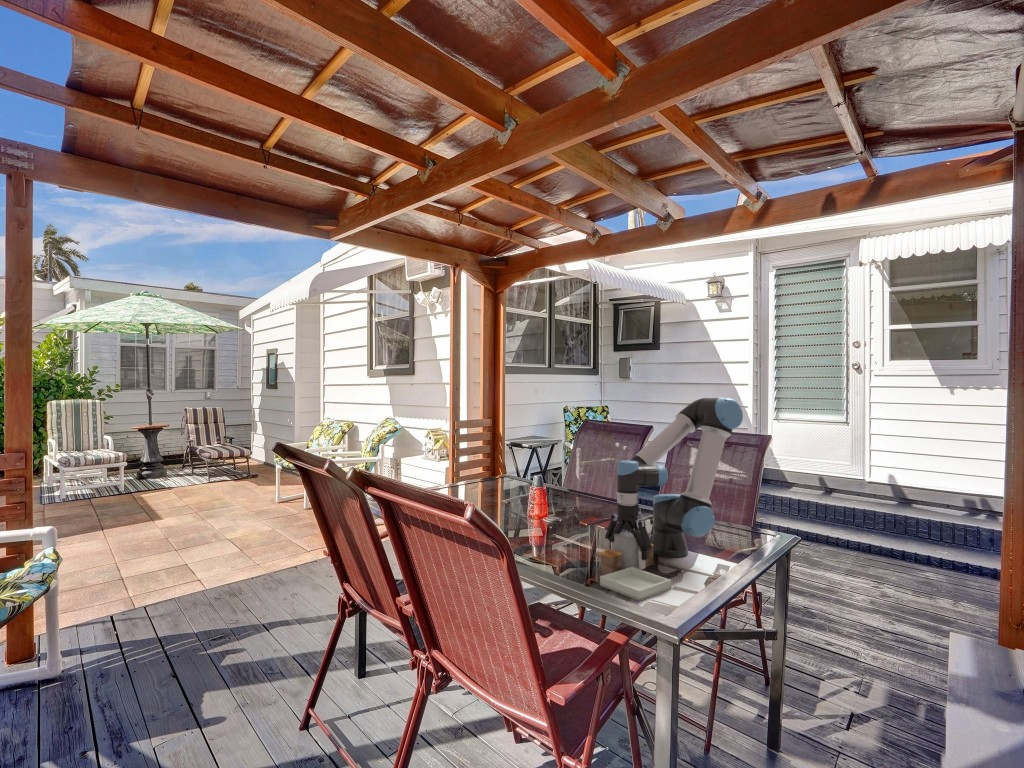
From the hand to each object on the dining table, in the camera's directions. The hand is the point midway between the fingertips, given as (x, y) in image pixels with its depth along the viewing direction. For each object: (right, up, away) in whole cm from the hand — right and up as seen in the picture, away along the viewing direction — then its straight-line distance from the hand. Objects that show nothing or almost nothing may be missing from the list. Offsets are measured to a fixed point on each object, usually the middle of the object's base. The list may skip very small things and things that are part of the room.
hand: (627, 564), depth 180 cm
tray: (-2, -1, -18) cm, 18 cm away
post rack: (0, -2, 0) cm, 2 cm away
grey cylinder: (0, -2, 0) cm, 2 cm away
